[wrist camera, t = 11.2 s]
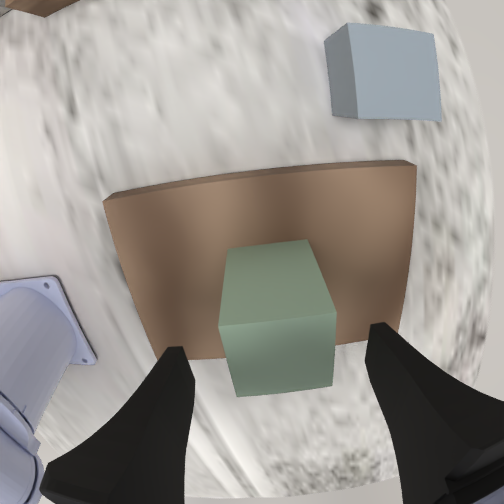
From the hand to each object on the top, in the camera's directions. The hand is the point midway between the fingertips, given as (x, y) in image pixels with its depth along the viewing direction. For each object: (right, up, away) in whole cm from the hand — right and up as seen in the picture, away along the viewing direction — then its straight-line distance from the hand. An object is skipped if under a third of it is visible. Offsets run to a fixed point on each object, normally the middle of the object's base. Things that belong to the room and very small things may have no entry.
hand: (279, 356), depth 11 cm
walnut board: (0, +3, +6) cm, 7 cm away
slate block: (+5, +13, +2) cm, 14 cm away
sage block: (0, +3, +5) cm, 6 cm away
